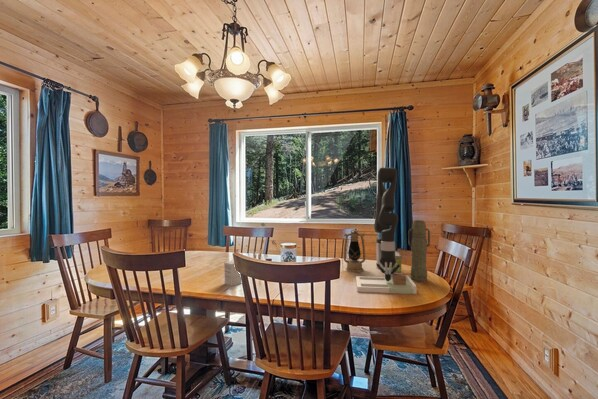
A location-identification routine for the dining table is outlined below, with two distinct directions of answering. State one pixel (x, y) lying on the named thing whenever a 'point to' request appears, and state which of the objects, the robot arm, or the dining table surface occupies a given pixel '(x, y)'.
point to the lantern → (354, 252)
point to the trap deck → (384, 285)
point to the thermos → (419, 250)
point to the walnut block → (399, 279)
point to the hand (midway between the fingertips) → (387, 280)
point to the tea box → (398, 260)
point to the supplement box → (231, 274)
